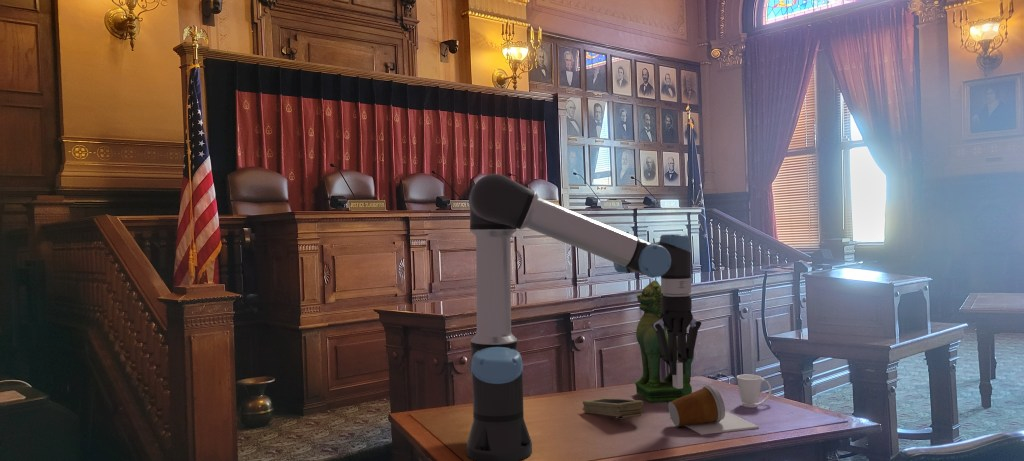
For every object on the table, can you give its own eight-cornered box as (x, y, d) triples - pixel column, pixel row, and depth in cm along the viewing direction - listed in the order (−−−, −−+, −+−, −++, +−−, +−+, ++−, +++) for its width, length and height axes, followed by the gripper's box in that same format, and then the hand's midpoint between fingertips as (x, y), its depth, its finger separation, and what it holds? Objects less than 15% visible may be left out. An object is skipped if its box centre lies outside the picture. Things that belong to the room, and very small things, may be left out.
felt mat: (701, 434, 176) (701, 432, 176) (670, 418, 191) (670, 416, 191) (758, 428, 180) (758, 426, 180) (724, 412, 195) (724, 410, 195)
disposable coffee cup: (670, 389, 181) (713, 378, 183) (662, 404, 189) (704, 393, 191) (685, 424, 176) (730, 412, 178) (676, 438, 183) (719, 426, 186)
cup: (732, 403, 205) (731, 374, 205) (765, 400, 206) (764, 372, 206) (743, 409, 198) (743, 380, 198) (777, 407, 199) (777, 378, 199)
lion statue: (631, 393, 219) (628, 279, 219) (682, 390, 222) (679, 277, 222) (646, 404, 206) (643, 282, 205) (701, 400, 209) (698, 280, 208)
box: (620, 424, 182) (618, 404, 183) (576, 418, 202) (574, 400, 203) (647, 420, 185) (645, 400, 186) (601, 415, 205) (599, 397, 206)
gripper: (659, 297, 177) (661, 392, 178) (706, 294, 181) (708, 388, 181) (646, 294, 185) (647, 386, 185) (692, 292, 188) (693, 382, 188)
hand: (677, 387), depth 183 cm, fingers closed
